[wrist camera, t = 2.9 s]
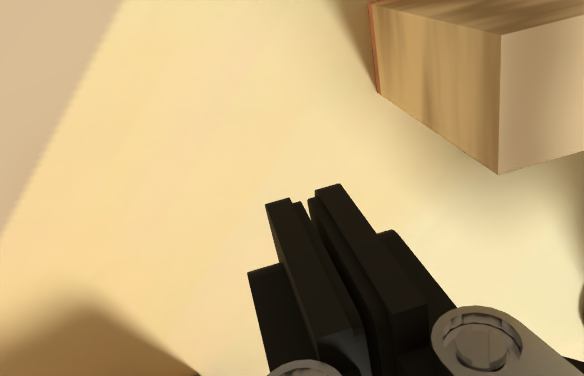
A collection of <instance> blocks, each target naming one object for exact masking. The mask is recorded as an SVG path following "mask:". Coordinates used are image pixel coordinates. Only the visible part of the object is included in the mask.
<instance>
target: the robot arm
mask: <svg viewBox="0 0 584 376" xmlns="http://www.w3.org/2000/svg"><path fill="white" fill-rule="evenodd" d="M307 201H308V208H309V213H310V218H311V220H310V218H309V216H308V214H307V212H306V210H305V208H304V206H303V205H302V203H301V201H299V202H295V203H292V202H291V200H290V198H285V199H282V200H278V201H275V202H271V203H268V204H265V208H266V212H267V216H268V220H269V224H270V228H271V232H272V236H273V240H274V243H275V247H276V251H277V255H278V259H279V263H277V264H274V265H270V266H267V267H264V268H260V269H257V270H254V271H250V272H247V275H248V280H249V284H250V288H251V292H252V297H253V301H254V305H255V310H256V314H257V318H258V322H259V327H260V331H261V335H262V340H263V344H264V348H265V352H266V357H267V361H268V365H269V370H270V373H269V374H268V375H267V376H584V362H582V361H578V360H574V359H571V358H567V357H563V356H561V355H560V354H559V353H557V352H556V351H555V350H554V349H552V348H551V347H550V346H549V345H548V344H546V343H545V342H544V341H543V340H541V339H540V338H539V337H538V336H537V335H535V334H534V333H533V332H532V331H531V330H529V329H528V328H527V327H526V326H524V325H523V324H522V323H521V322H520V321H518V320H517V319H515V318H513V317H512V316H510V315H509V314H507V313H505V312H502V311H499V310H497V309H494V308H490V307H483V306H463V307H459V308H457V307H456V306H455V304H454V303H453V302H452V301H451V299H450V298H449V297H448V296H447V294H446V293H445V292H444V291H443V289H442V288H441V287H440V286H439V285H438V283H437V282H436V281H435V280H434V278H433V277H432V276H431V275H430V273H429V272H428V271H427V270H426V268H425V267H424V266H423V265H422V263H421V262H420V261H419V260H418V258H417V257H416V256H415V255H414V253H413V252H412V251H411V250H410V248H409V247H408V246H407V245H406V243H405V242H404V241H403V240H402V238H401V237H400V236H399V235H398V234H397V233H396V232H395V231H394V230H388V231H384V232H381V233H378V234H377V233H376V232H375V231H374V229H373V228H372V227H371V225H370V224H369V223H368V221H367V220H366V218H365V217H364V216H363V214H362V213H361V212H360V210H359V209H358V207H357V206H356V205H355V203H354V202H353V201H352V199H351V198H350V196H349V195H348V194H347V192H346V191H345V190H344V188H343V187H342V185H341V184H335V185H331V186H328V187H324V188H321V189H317V190H315V197H313V198H310V199H308V200H307Z"/></svg>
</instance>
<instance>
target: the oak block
mask: <svg viewBox="0 0 584 376" xmlns="http://www.w3.org/2000/svg"><path fill="white" fill-rule="evenodd" d="M368 10H369V19H370V29H371V38H372V48H373V57H374V66H375V76H376V85H377V93H379V94H380V95H382V96H383V97H385V98H386V99H388V100H389V101H391V102H392V103H394V104H395V105H396V106H398V107H399V108H401V109H402V110H404V111H405V112H407V113H408V114H410V115H411V116H413V117H414V118H416V119H417V120H418V121H420V122H421V123H423V124H424V125H426V126H427V127H429V128H430V129H432V130H433V131H435V132H436V133H437V134H439V135H440V136H442V137H443V138H445V139H446V140H448V141H449V142H451V143H452V144H454V145H455V146H457V147H458V148H459V149H461V150H462V151H464V152H465V153H467V154H468V155H470V156H471V157H473V158H474V159H476V160H477V161H478V162H480V163H481V164H483V165H484V166H486V167H487V168H489V169H490V170H492V171H493V172H495V173H496V174H498V175H499V174H503V173H506V172H510V171H513V170H517V169H521V168H524V167H528V166H531V165H535V164H538V163H542V162H545V161H549V160H553V159H556V158H560V157H563V156H567V155H570V154H574V153H577V152H581V151H584V0H382V1H377V2H373V3H369V4H368Z"/></svg>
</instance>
